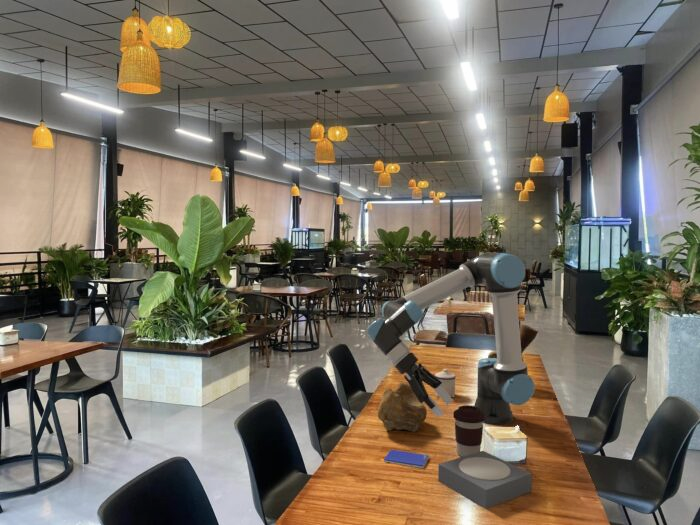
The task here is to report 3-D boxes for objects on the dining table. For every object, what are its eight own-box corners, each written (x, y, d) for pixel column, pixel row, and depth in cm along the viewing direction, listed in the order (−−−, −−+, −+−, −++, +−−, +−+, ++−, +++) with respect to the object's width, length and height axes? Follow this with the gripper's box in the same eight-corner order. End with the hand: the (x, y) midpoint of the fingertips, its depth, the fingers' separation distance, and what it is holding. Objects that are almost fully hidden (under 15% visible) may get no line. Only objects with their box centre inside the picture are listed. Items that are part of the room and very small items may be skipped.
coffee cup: (446, 453, 170) (447, 408, 169) (463, 445, 176) (464, 401, 176) (473, 463, 162) (474, 416, 162) (490, 454, 169) (491, 408, 169)
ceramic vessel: (486, 382, 252) (487, 320, 251) (533, 385, 249) (535, 322, 247) (489, 392, 237) (490, 326, 235) (539, 395, 233) (541, 328, 232)
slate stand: (482, 466, 160) (482, 449, 160) (531, 491, 145) (531, 472, 145) (438, 481, 151) (438, 463, 150) (485, 508, 135) (486, 488, 135)
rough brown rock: (413, 444, 179) (418, 401, 178) (369, 431, 187) (374, 390, 186) (435, 425, 200) (439, 386, 199) (394, 414, 207) (398, 377, 206)
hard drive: (429, 454, 166) (391, 448, 171) (423, 465, 159) (383, 458, 163) (428, 459, 166) (391, 453, 171) (423, 470, 159) (383, 463, 163)
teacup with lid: (457, 394, 234) (458, 368, 233) (451, 399, 226) (452, 373, 225) (432, 390, 239) (432, 365, 239) (425, 395, 231) (425, 369, 231)
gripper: (405, 357, 189) (446, 404, 184) (382, 374, 166) (428, 428, 161) (420, 344, 186) (461, 391, 181) (399, 359, 163) (445, 413, 158)
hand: (446, 408), depth 171 cm, fingers open, 13 cm apart
